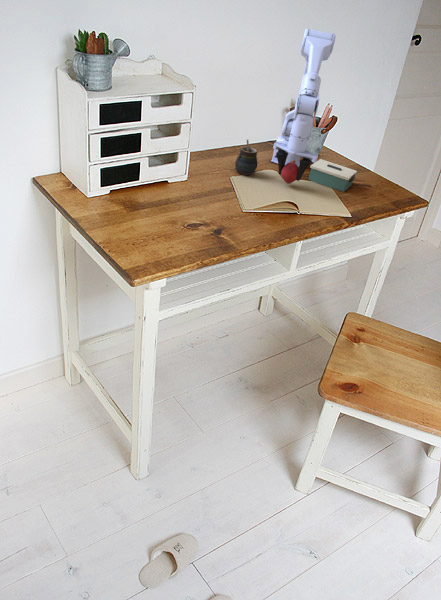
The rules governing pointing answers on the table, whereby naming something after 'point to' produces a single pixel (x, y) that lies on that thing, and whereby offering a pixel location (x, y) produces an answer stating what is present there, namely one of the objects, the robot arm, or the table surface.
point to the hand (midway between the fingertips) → (289, 176)
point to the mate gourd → (246, 160)
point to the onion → (290, 172)
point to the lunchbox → (332, 175)
